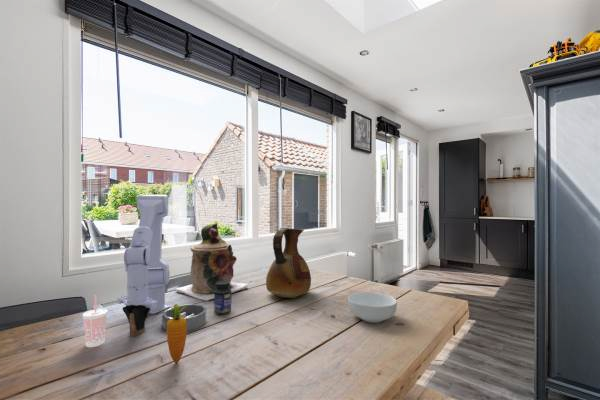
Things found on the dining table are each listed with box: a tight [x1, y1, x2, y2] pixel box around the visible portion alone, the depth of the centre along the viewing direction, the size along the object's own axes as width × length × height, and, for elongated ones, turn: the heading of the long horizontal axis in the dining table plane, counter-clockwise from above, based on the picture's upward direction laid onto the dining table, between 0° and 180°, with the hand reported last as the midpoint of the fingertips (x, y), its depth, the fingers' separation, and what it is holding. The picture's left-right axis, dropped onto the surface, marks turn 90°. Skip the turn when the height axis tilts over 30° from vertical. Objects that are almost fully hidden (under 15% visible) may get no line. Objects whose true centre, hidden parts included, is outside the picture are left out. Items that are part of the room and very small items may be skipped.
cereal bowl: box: [347, 291, 398, 324], centre depth 106 cm, size 17×17×7 cm
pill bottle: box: [213, 281, 232, 316], centre depth 112 cm, size 6×6×11 cm
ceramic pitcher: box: [265, 227, 312, 299], centre depth 133 cm, size 20×20×30 cm
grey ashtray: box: [161, 303, 208, 332], centre depth 102 cm, size 14×14×4 cm
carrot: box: [166, 303, 187, 364], centre depth 77 cm, size 5×5×15 cm
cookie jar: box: [175, 221, 249, 302], centre depth 140 cm, size 25×25×32 cm
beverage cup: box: [82, 294, 109, 348], centre depth 87 cm, size 6×6×14 cm
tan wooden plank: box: [128, 312, 146, 338], centre depth 94 cm, size 2×4×7 cm, turn 159°
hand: (137, 328), depth 94 cm, fingers closed
